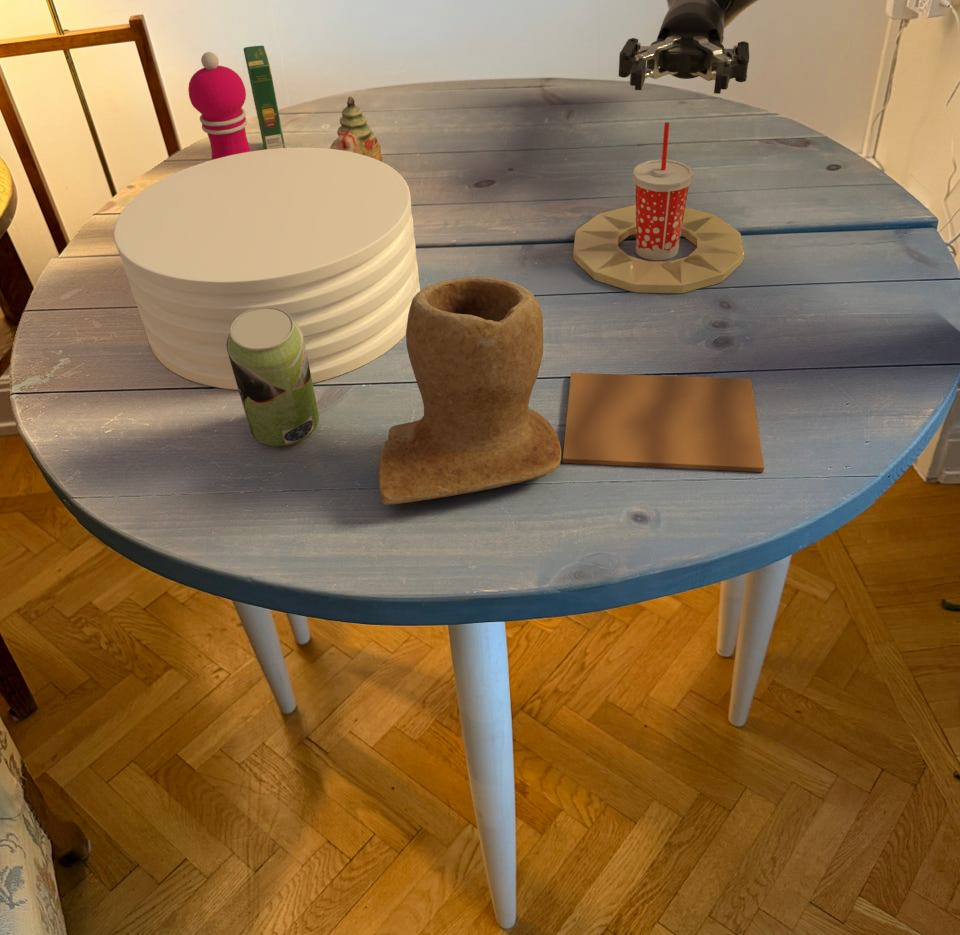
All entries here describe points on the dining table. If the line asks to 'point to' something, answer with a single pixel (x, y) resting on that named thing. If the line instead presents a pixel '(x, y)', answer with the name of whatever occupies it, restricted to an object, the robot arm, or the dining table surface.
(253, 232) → the plate stack
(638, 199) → the beverage cup
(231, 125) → the pepper mill
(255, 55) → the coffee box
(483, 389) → the stone cup
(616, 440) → the cork mat
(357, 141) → the ornament
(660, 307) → the dining table surface
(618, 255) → the tan faceted ring
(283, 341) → the beverage can
